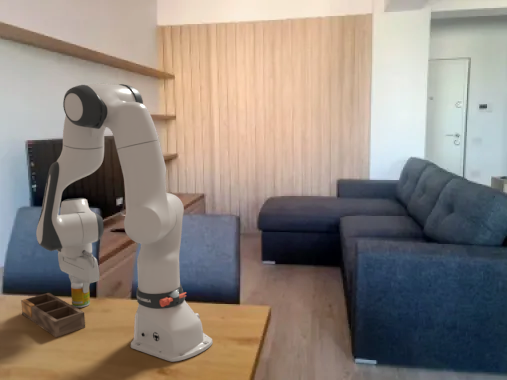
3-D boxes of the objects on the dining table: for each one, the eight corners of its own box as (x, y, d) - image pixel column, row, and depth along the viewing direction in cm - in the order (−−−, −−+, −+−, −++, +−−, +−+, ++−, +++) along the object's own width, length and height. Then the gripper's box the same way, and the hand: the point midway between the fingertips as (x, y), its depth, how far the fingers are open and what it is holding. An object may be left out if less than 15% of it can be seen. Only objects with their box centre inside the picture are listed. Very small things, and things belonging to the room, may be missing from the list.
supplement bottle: (86, 308, 146) (84, 278, 145) (69, 308, 146) (67, 278, 145) (92, 301, 152) (90, 273, 150) (76, 301, 152) (74, 273, 150)
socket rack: (85, 327, 132) (84, 311, 132) (55, 337, 126) (53, 321, 125) (49, 305, 148) (48, 291, 148) (21, 314, 142) (20, 299, 141)
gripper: (103, 251, 142) (105, 294, 144) (72, 240, 155) (74, 280, 157) (83, 256, 137) (86, 300, 139) (53, 244, 151) (56, 285, 153)
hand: (80, 289), depth 148 cm, fingers closed on supplement bottle, 5 cm apart
